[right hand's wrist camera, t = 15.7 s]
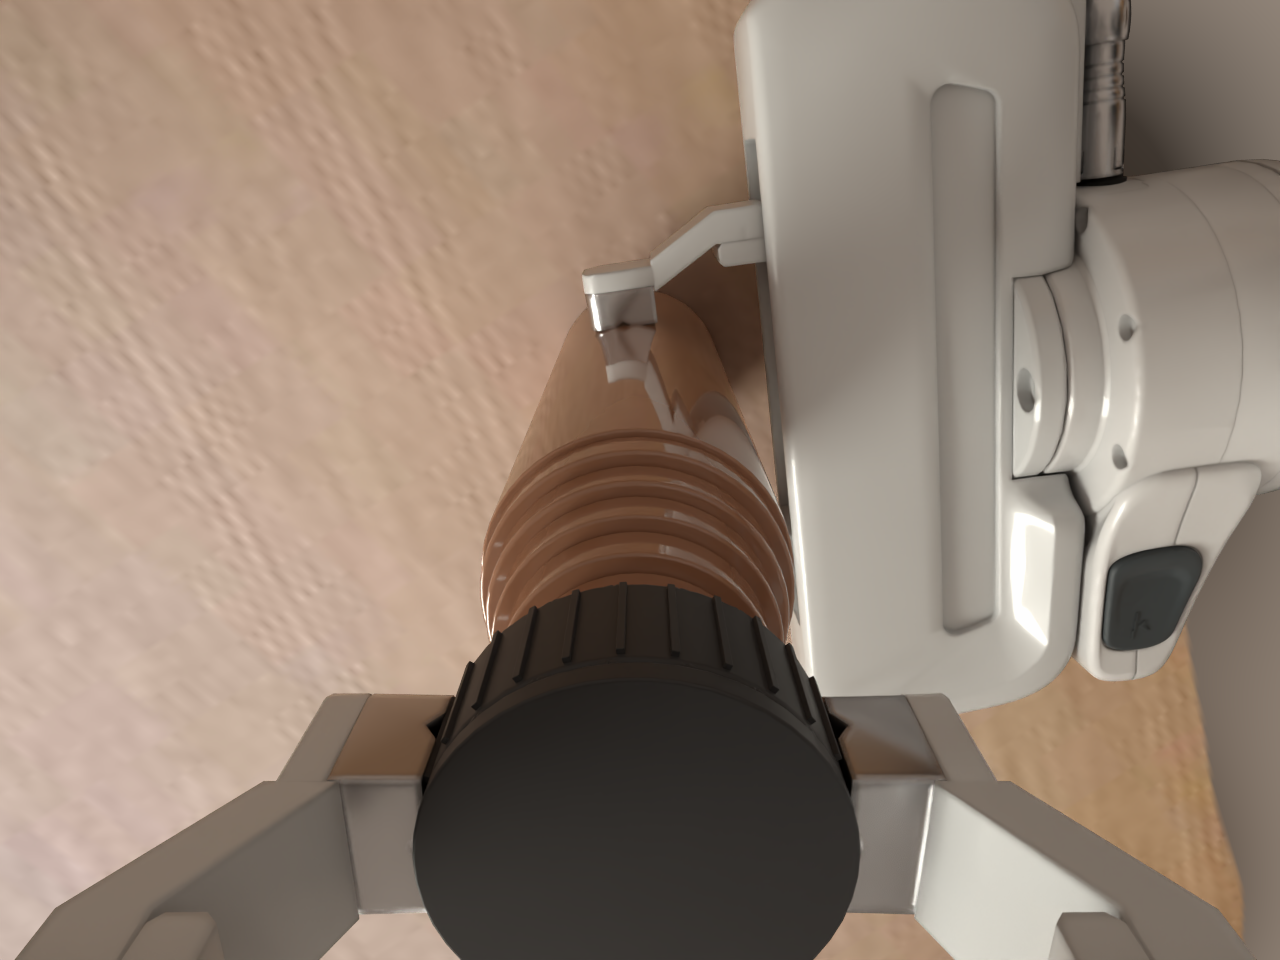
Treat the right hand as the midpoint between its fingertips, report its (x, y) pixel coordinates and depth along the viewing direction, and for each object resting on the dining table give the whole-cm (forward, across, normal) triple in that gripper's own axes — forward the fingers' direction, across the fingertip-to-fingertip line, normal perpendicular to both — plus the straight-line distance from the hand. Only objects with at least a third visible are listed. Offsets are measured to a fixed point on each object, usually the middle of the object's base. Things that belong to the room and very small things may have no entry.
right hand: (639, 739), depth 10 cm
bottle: (+20, 0, 0) cm, 20 cm away
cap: (-2, 0, 0) cm, 2 cm away
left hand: (+14, -1, 0) cm, 14 cm away
